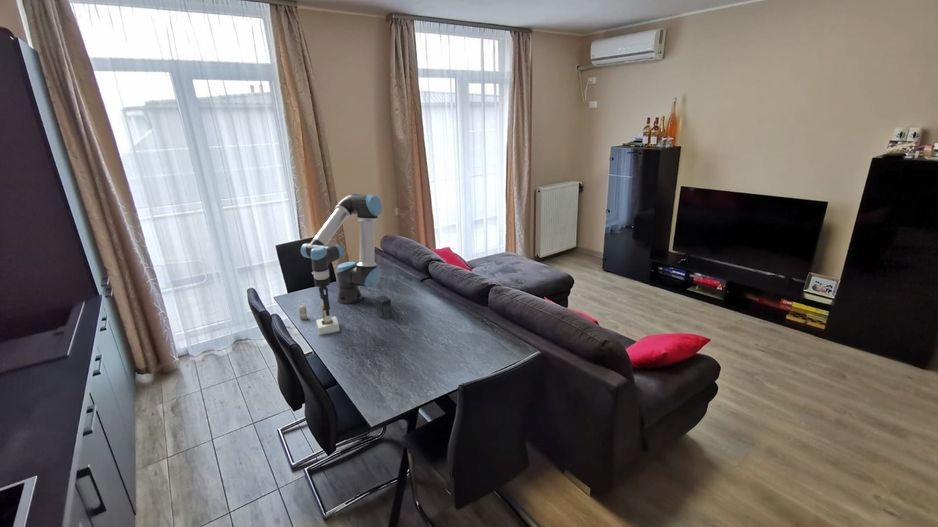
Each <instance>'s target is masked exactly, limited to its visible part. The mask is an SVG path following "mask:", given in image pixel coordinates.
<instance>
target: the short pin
mask: <svg viewBox="0 0 938 527" xmlns="http://www.w3.org/2000/svg"><path fill="white" fill-rule="evenodd" d="M298 311H299V318H300V320H307V319H308V312H307V306H306V305H299V306H298Z"/></svg>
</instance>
